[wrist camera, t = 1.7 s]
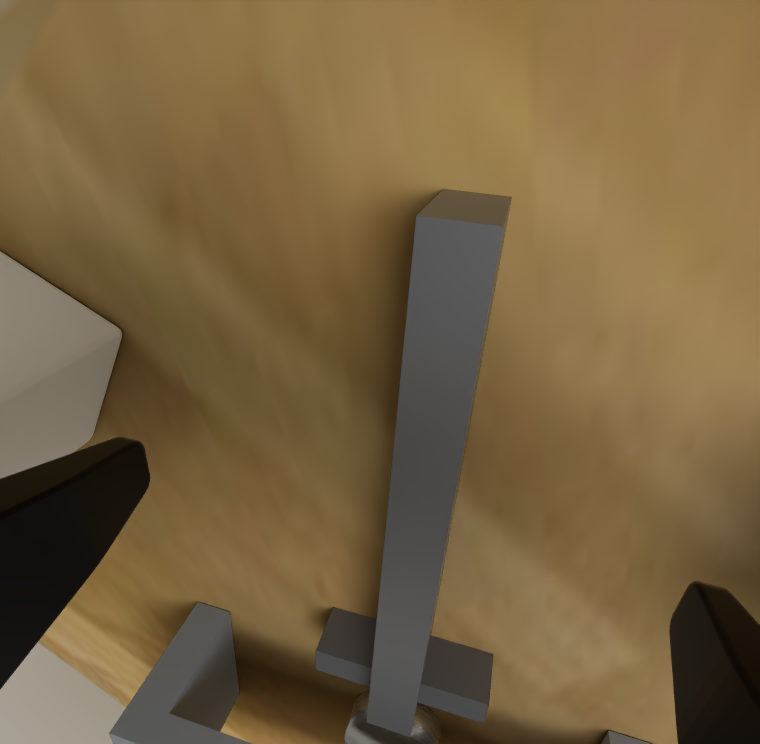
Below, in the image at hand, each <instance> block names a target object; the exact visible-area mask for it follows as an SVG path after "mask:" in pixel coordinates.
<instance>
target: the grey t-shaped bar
mask: <svg viewBox="0 0 760 744" xmlns="http://www.w3.org/2000/svg"><path fill="white" fill-rule="evenodd" d="M511 199H512V197H507V196H499V195H490V194H481V193H473V192H464V191H456V190H447V189H443V190H442V191H441V192H440V193H439V194H438V195H437V196H436V197H435V198H434V199H433V200H432V201H431V202H430V203H429V204H428V205H427V206H426V207H425V208H424V209H422V210H421V211H420V212H419V213H418V214H417V215H416V224H415V234H414V245H413V255H412V265H411V275H410V285H409V296H408V306H407V316H406V326H405V336H404V347H403V357H402V367H401V377H400V387H399V397H398V408H397V418H396V428H395V438H394V448H393V459H392V469H391V479H390V489H389V499H388V510H387V520H386V530H385V540H384V550H383V561H382V571H381V581H380V591H379V601H378V612H377V620H376V619H373V618H370V617H366V616H363V615H359V614H356V613H353V612H349V611H346V610H342V609H339V608H336V607H333V609H332V612H331V614H330V617H329V619H328V622H327V624H326V627H325V629H324V632H323V634H322V637H321V639H320V642H319V644H318V646H317V649H316V670H318V671H321V672H325V673H328V674H331V675H334V676H337V677H340V678H343V679H346V680H349V681H353V682H356V683H359V684H362V685H365V686H368V687H370V693H369V703H368V713H367V723H370V724H373V725H376V726H379V727H382V728H385V729H388V730H391V731H394V732H397V733H400V734H403V735H406V736H409V737H411V733H412V728H413V723H414V718H415V714H416V709H417V704H418V703H421V704H424V705H427V706H430V707H433V708H436V709H439V710H442V711H446V712H449V713H452V714H455V715H458V716H461V717H464V718H467V719H470V720H473V721H477V722H480V723H484V720H485V716H486V713H487V710H488V707H489V698H490V687H491V675H492V663H493V654H492V653H488V652H485V651H481V650H478V649H475V648H471V647H468V646H464V645H461V644H458V643H454V642H451V641H447V640H444V639H441V638H437V637H434V636H431V633H432V627H433V622H434V616H435V611H436V606H437V600H438V595H439V589H440V584H441V578H442V573H443V568H444V562H445V557H446V551H447V546H448V540H449V535H450V530H451V524H452V519H453V513H454V508H455V502H456V497H457V492H458V486H459V481H460V475H461V470H462V465H463V459H464V454H465V448H466V443H467V437H468V432H469V427H470V421H471V416H472V410H473V405H474V399H475V394H476V389H477V383H478V378H479V372H480V367H481V361H482V356H483V351H484V345H485V340H486V334H487V329H488V324H489V318H490V313H491V307H492V302H493V296H494V291H495V286H496V280H497V275H498V269H499V264H500V258H501V253H502V248H503V242H504V237H505V231H506V226H507V220H508V215H509V210H510V204H511Z"/></svg>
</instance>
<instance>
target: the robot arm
mask: <svg viewBox="0 0 760 744" xmlns="http://www.w3.org/2000/svg"><path fill="white" fill-rule="evenodd" d="M149 482H150V473H149V468H148V463H147V458H146V453H145V448H144V446H143V444H142V443H141V442H139V441H137V440H133V439H129V438H125V437H117V438H114V439H111V440H108V441H105V442H102V443H99V444H97V445H94V446H91V447H88V448H85V449H83V450H80V451H77V452H74V453H71V454H68V455H66V456H63V457H60V458H57V459H54V460H51V461H49V462H46V463H43V464H40V465H37V466H35V467H32V468H29V469H26V470H23V471H20V472H18V473H15V474H12V475H9V476H6V477H3V478H1V479H0V689H1V688H2V687H3V685H4V684H5V683H6V682H7V680H8V679H9V678H10V676H11V675H12V674H13V673H14V671H15V670H16V669H17V668H18V666H19V665H20V664H21V662H22V661H23V660H24V659H25V657H26V656H27V655H28V653H29V652H30V651H31V649H32V648H33V647H34V646H35V645H36V643H37V642H38V641H39V640H40V638H41V637H42V636H43V635H44V633H45V632H46V631H47V629H48V628H49V627H50V626H51V624H52V623H53V622H54V621H55V619H56V618H57V617H58V616H59V614H60V613H61V612H62V610H63V609H64V608H65V607H66V605H67V604H68V603H69V602H70V600H71V599H72V598H73V596H74V595H75V594H76V593H77V591H78V590H79V589H80V588H81V586H82V585H83V584H84V583H85V581H86V580H87V579H88V577H89V576H90V575H91V573H92V572H93V571H94V569H95V568H96V567H97V566H98V564H99V563H100V561H101V560H102V558H103V557H104V555H105V554H106V553H107V551H108V550H109V548H110V546H111V545H112V543H113V542H114V540H115V539H116V537H117V536H118V534H119V533H120V531H121V529H122V528H123V526H124V525H125V523H126V522H127V520H128V519H129V517H130V515H131V514H132V512H133V511H134V509H135V508H136V506H137V505H138V503H139V502H140V500H141V498H142V497H143V495H144V494H145V492H146V490H147V488H148V486H149ZM670 647H671V660H672V673H673V687H674V700H675V714H676V727H677V737H678V744H760V625H759V624H758V623H757V622H756V620H755V619H754V618H753V617H752V616H751V615H750V614H749V613H748V612H747V610H746V609H745V608H744V607H743V606H742V605H741V604H740V603H739V602H738V601H737V599H736V598H735V597H734V596H733V595H732V594H731V593H730V592H729V591H728V590H726V589H725V588H722V587H719V586H715V585H711V584H707V583H704V582H700V581H694V582H692V583H691V584H690V585H689V586H688V587H687V589H686V591H685V593H684V595H683V597H682V598H681V600H680V602H679V604H678V606H677V608H676V609H675V611H674V613H673V615H672V618H671V621H670Z"/></svg>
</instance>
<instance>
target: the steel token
mask: <svg viewBox="0 0 760 744" xmlns="http://www.w3.org/2000/svg"><path fill="white" fill-rule="evenodd" d="M369 693H370V690H368V691H365V692H363V693H361V694H360V695H359V696H358V697H357V699H356V701H355V704H354V707H353V710H352V713H351V717H350V720H349V723H348V726H347V730H346V733H345V743H346V744H439V739H440V733H441V725H440V722H439V720H438V718H437V717H436V716H435V714H434V713H433V712H432V711H431V710H430V709H429V708H428V707H426V706H425V705H424V704H421V703H418V704H417V709H416V714H415V718H414V723H413V728H412V733H411V737H409V736H406V735H403V734H400V733H397V732H394V731H391V730H388V729H385V728H382V727H379V726H376V725H373V724H370V723H367V713H368V703H369Z"/></svg>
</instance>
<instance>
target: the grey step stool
mask: <svg viewBox="0 0 760 744" xmlns="http://www.w3.org/2000/svg"><path fill="white" fill-rule="evenodd" d="M239 693H240V692H239V684H238V676H237V667H236V659H235V651H234V642H233V634H232V625H231V617H230V612H228V611H225V610H222V609H218V608H215V607H212V606H209V605H206V604H202V603H199V602H198V603H197V604H196V606H195V607H194V608H193V610H192V611H191V613H190V614H189V616H188V617H187V619H186V620H185V622H184V623H183V625H182V626H181V628H180V629H179V631H178V632H177V634H176V635H175V637H174V638H173V640H172V641H171V642H170V644H169V645H168V647H167V648H166V650H165V651H164V653H163V654H162V656H161V657H160V659H159V660H158V662H157V663H156V665H155V666H154V668H153V669H152V671H151V672H150V674H149V675H148V676H147V678H146V679H145V681H144V682H143V684H142V685H141V687H140V688H139V690H138V691H137V693H136V694H135V696H134V697H133V699H132V700H131V702H130V703H129V705H128V706H127V708H126V709H125V710H124V712H123V713H122V715H121V717H120V718H119V720H118V721H117V722H116V724H115V725H114V727H113V728H112V730H111V731H110V733H109V734H110V737H111V740H112V742H113V744H252V743H249V742H246V741H243V740H241V739H238V738H235V737H232V736H230V735H227V734H224V733H221V732H220V731H221V729H222V727H223V725H224V723H225V721H226V719H227V717H228V715H229V713H230V711H231V709H232V707H233V705H234V703H235V701H236V699H237V697H238V695H239ZM601 744H651V743H648V742H644V741H641V740H638V739H635V738H631V737H628V736H625V735H622V734H619V733H615V732H612V731H609V730H608V732H607V734H606V736H605V738H604V739H603V741H602V743H601Z"/></svg>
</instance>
